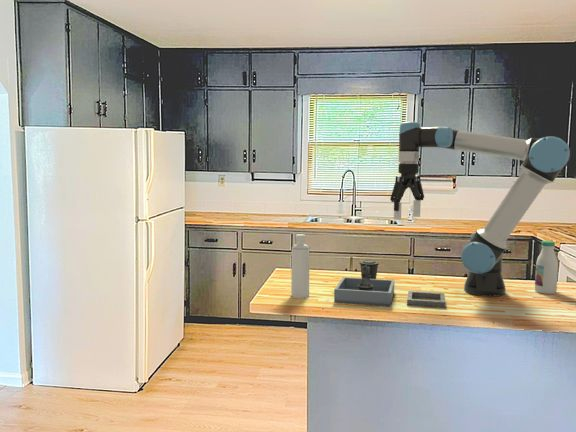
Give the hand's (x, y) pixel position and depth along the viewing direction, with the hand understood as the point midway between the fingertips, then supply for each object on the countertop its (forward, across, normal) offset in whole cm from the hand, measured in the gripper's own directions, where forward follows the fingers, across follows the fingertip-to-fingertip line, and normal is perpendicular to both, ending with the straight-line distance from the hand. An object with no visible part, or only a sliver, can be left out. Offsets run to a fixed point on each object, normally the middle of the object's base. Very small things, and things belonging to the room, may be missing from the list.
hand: (407, 218), depth 207 cm
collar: (+29, -9, -14) cm, 33 cm away
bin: (+29, -20, +5) cm, 35 cm away
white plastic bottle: (+29, -35, +24) cm, 51 cm away
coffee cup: (+29, -2, +16) cm, 33 cm away
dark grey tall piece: (+28, -20, +5) cm, 35 cm away
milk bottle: (+29, +37, -40) cm, 62 cm away
